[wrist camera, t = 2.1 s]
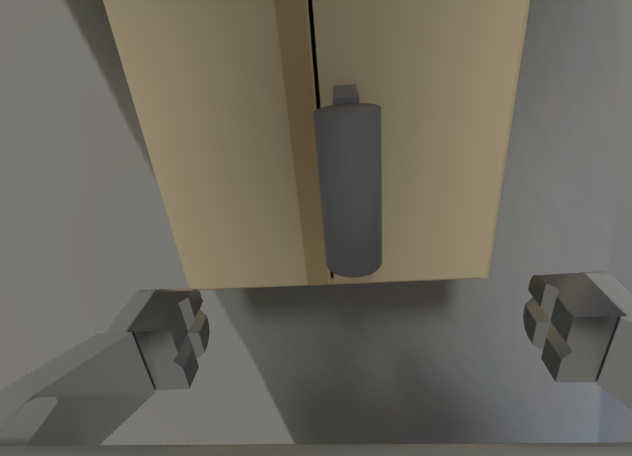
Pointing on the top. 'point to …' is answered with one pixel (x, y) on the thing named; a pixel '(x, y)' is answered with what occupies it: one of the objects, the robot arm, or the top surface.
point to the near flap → (412, 133)
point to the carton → (236, 134)
